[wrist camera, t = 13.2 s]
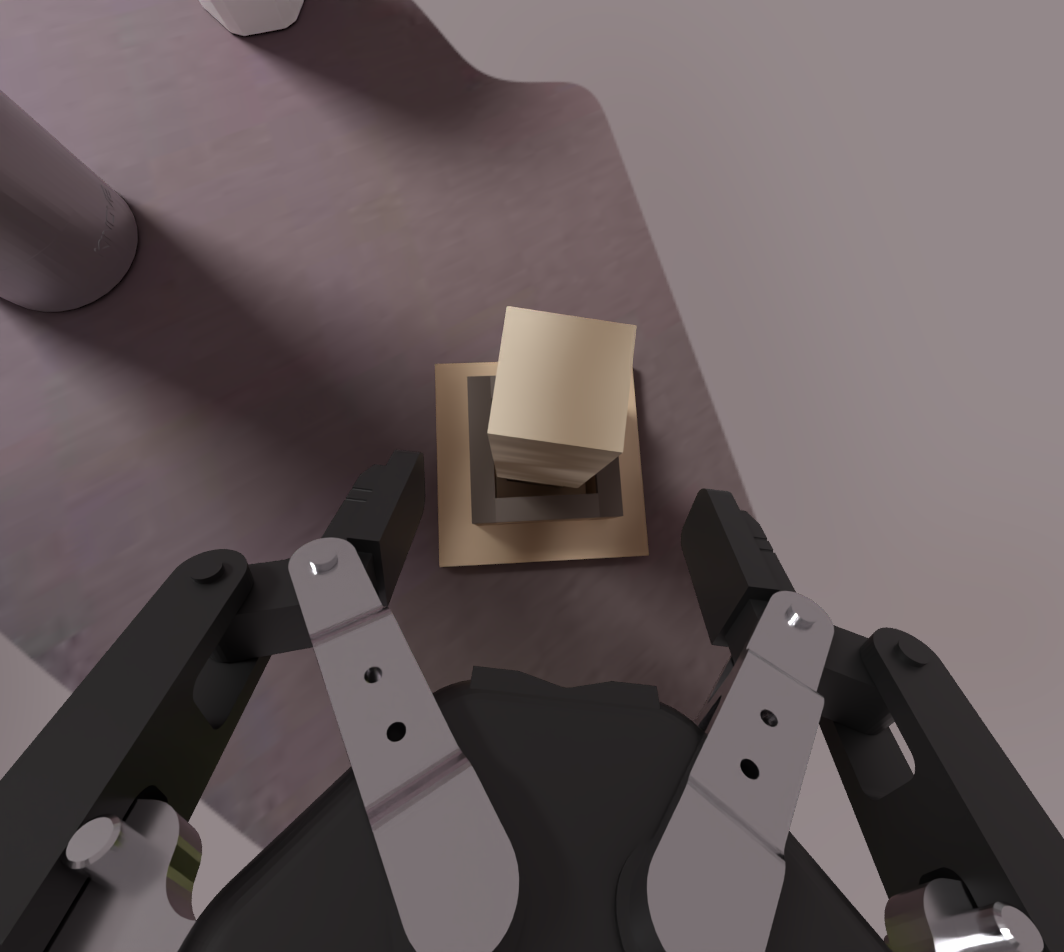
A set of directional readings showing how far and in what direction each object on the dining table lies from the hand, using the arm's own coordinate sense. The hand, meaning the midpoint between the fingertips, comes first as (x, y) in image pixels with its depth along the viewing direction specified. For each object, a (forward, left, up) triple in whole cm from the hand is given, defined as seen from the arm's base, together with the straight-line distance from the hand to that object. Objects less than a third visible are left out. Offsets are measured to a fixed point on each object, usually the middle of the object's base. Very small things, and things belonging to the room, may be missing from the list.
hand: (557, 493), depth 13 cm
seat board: (0, +3, -14) cm, 14 cm away
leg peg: (0, +3, -13) cm, 13 cm away
